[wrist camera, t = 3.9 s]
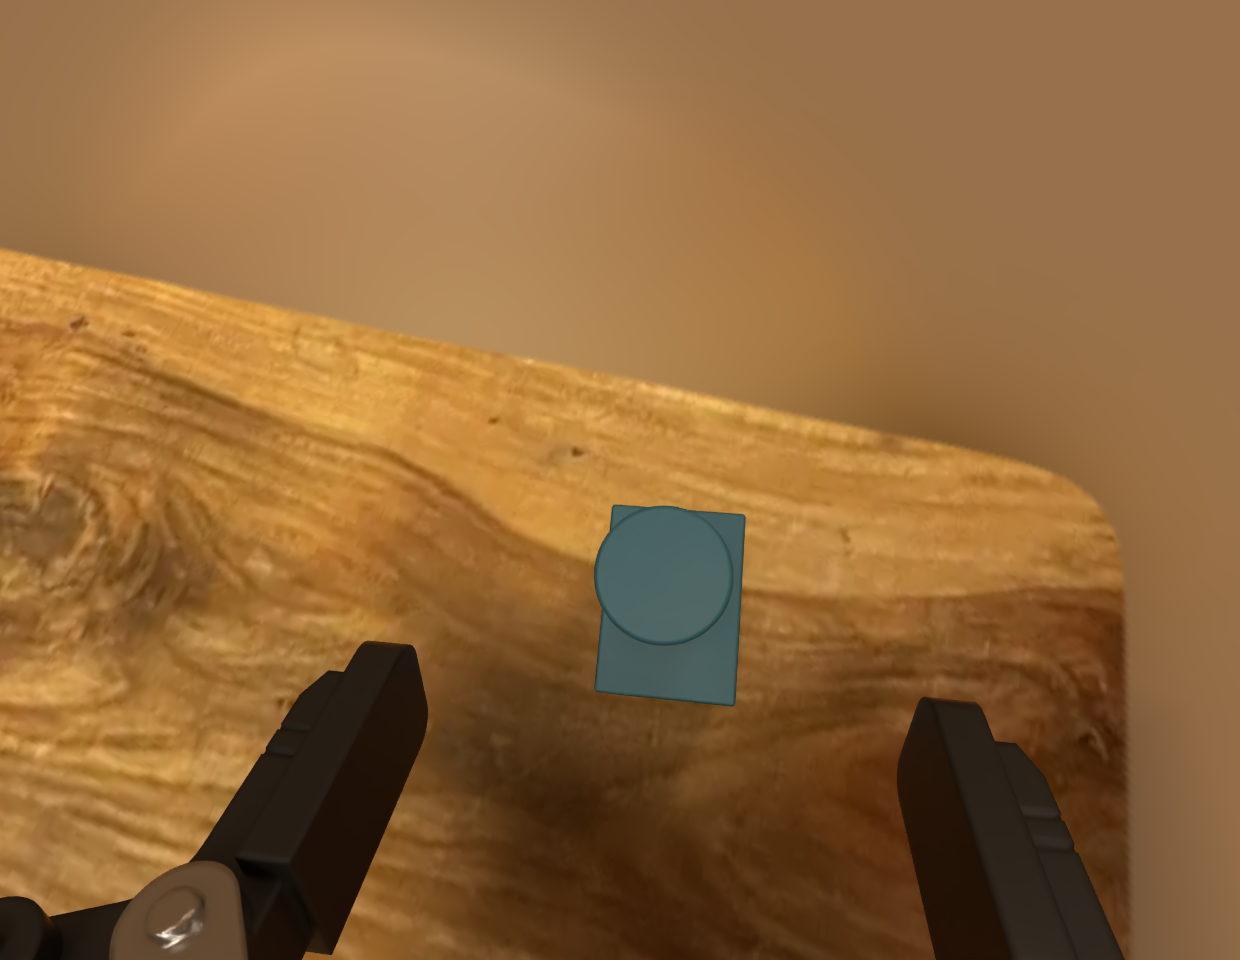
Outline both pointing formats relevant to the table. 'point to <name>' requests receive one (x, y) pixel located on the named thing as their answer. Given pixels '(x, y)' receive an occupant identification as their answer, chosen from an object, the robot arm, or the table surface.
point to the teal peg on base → (670, 604)
